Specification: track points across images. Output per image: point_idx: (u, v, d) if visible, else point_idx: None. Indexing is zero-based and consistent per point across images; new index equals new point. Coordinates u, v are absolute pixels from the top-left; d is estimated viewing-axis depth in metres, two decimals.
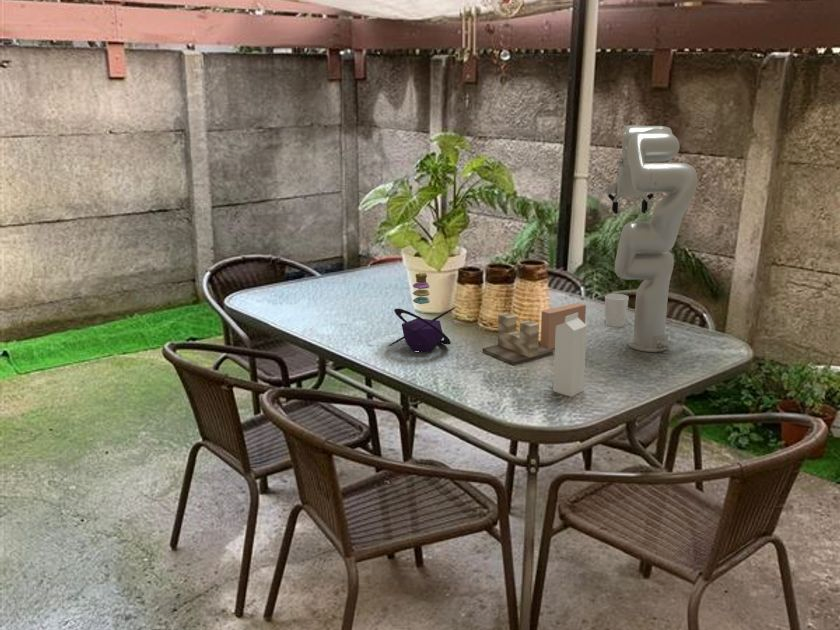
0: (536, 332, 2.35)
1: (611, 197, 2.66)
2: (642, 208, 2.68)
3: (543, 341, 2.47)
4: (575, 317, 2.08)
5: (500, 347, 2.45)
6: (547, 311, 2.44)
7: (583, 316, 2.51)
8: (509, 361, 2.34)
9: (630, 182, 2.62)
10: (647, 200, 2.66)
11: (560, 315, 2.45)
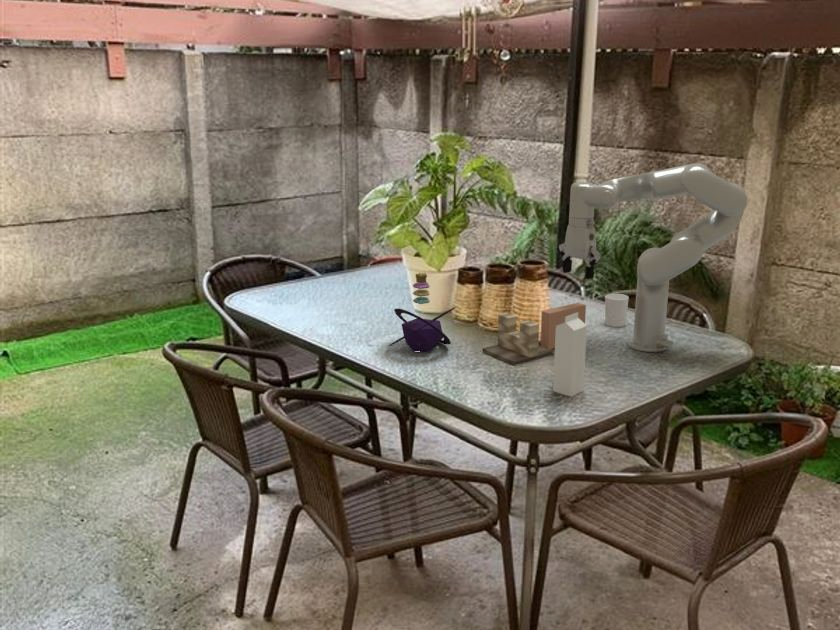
0: (536, 332, 2.35)
1: None
2: (567, 268, 2.51)
3: (543, 341, 2.47)
4: (575, 317, 2.08)
5: (500, 347, 2.45)
6: (547, 311, 2.44)
7: (583, 316, 2.51)
8: (509, 361, 2.34)
9: None
10: None
11: (560, 315, 2.45)
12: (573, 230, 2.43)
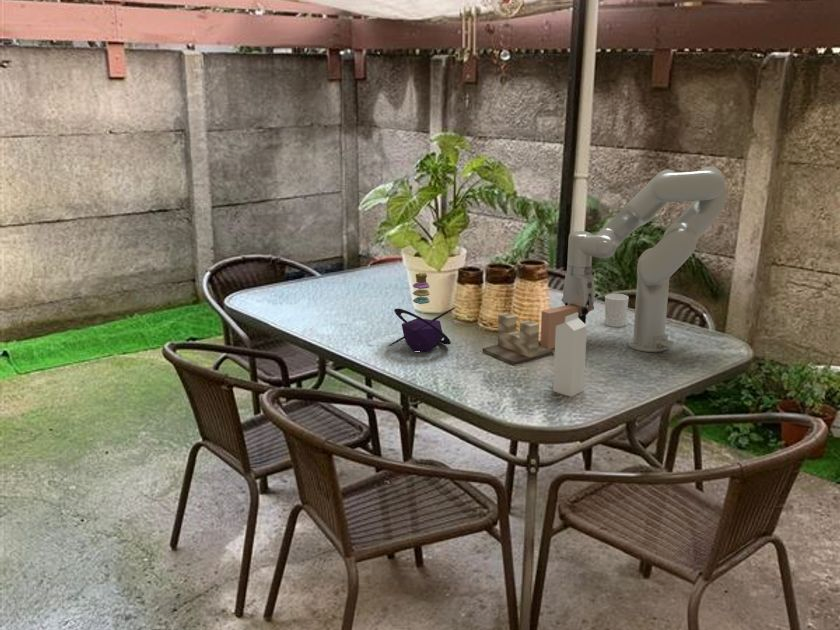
0: (536, 332, 2.35)
1: None
2: None
3: (543, 341, 2.47)
4: (575, 317, 2.08)
5: (500, 347, 2.45)
6: (547, 311, 2.44)
7: None
8: (509, 361, 2.34)
9: None
10: None
11: (560, 315, 2.45)
12: (571, 278, 2.48)
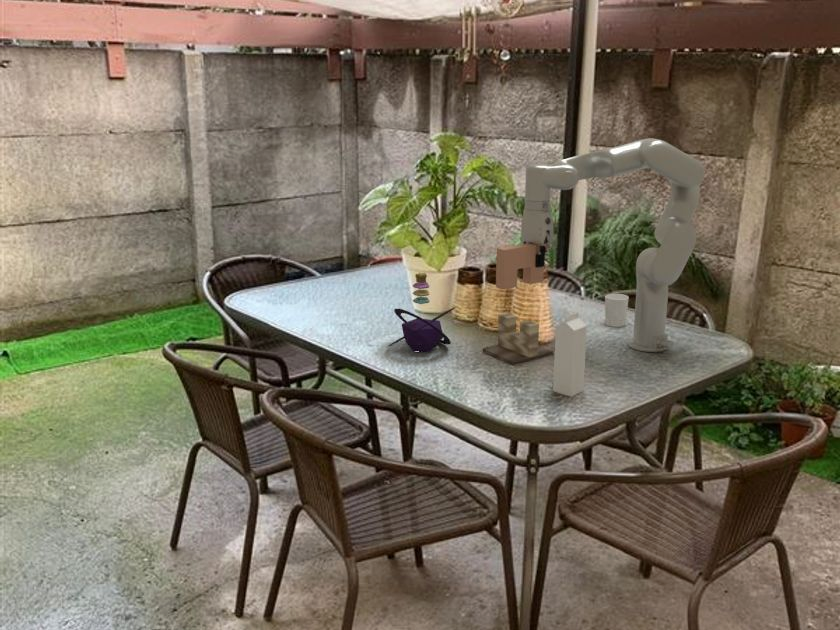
0: (536, 332, 2.35)
1: None
2: None
3: (498, 281, 2.33)
4: (575, 317, 2.08)
5: (500, 347, 2.45)
6: (502, 248, 2.30)
7: None
8: (509, 361, 2.34)
9: None
10: None
11: (516, 253, 2.31)
12: (529, 214, 2.33)
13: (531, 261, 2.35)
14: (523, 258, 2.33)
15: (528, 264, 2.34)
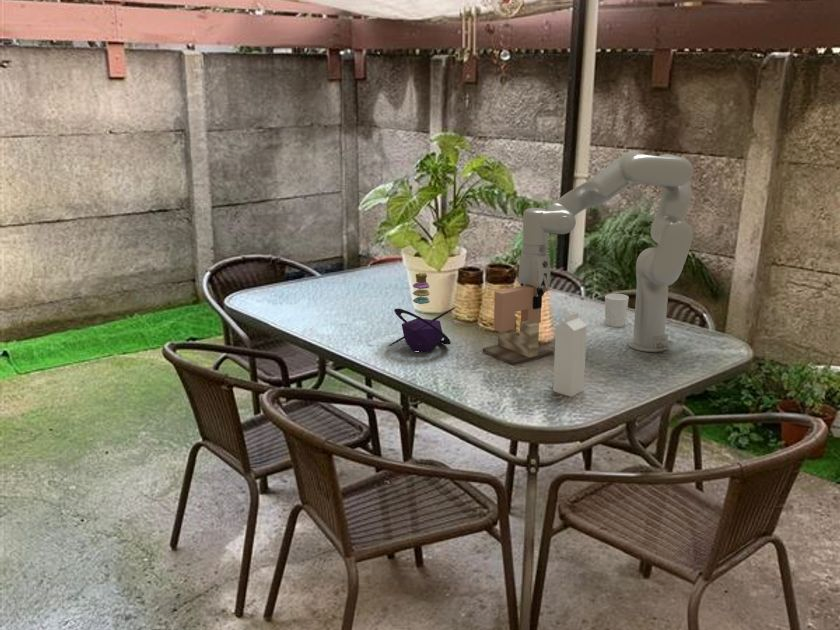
0: (536, 332, 2.35)
1: None
2: None
3: (496, 323, 2.36)
4: (575, 317, 2.08)
5: (500, 347, 2.45)
6: (500, 291, 2.33)
7: None
8: (509, 361, 2.34)
9: None
10: None
11: (514, 296, 2.34)
12: (526, 257, 2.37)
13: (528, 303, 2.38)
14: (521, 301, 2.36)
15: (526, 306, 2.38)
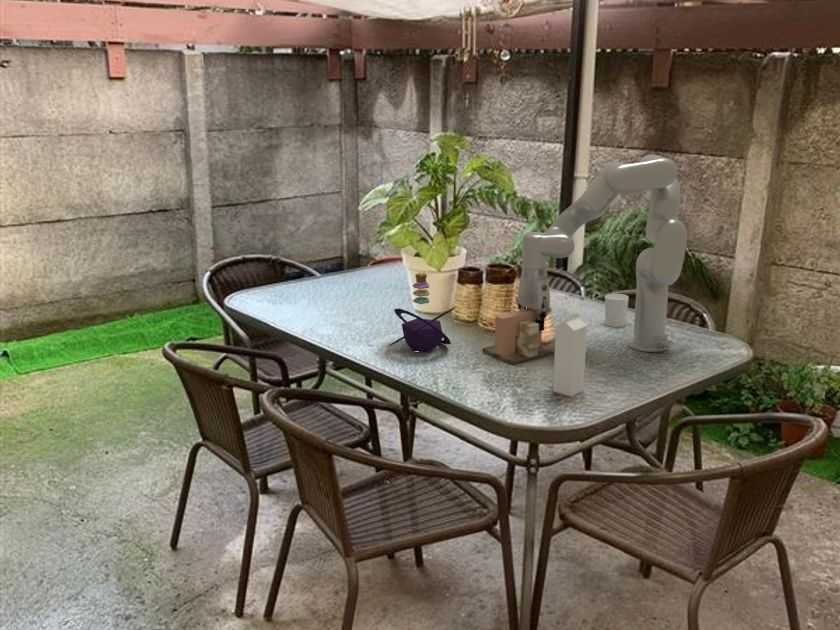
0: (536, 332, 2.35)
1: None
2: None
3: (497, 347, 2.38)
4: (575, 317, 2.08)
5: None
6: (501, 316, 2.36)
7: None
8: (509, 361, 2.34)
9: None
10: None
11: (515, 320, 2.37)
12: (526, 281, 2.39)
13: None
14: None
15: None
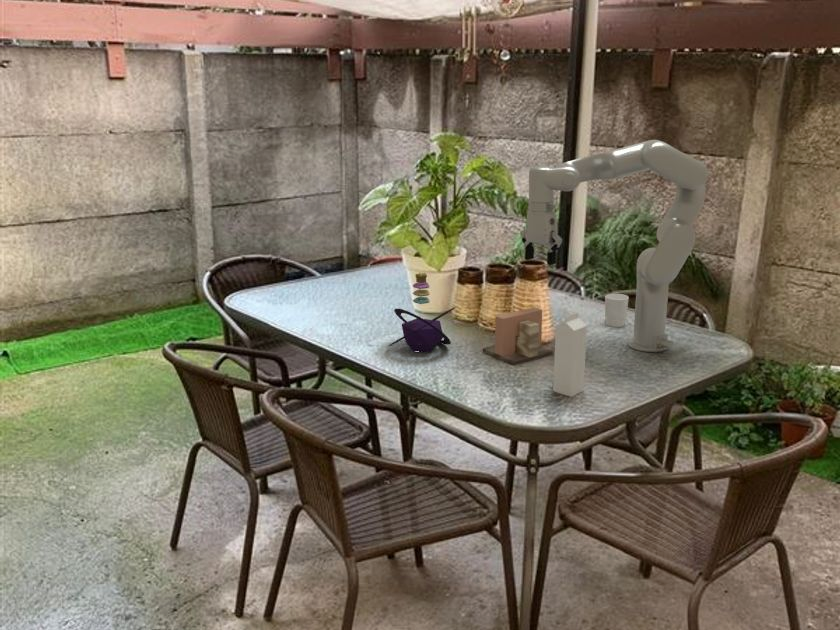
0: (536, 332, 2.35)
1: None
2: (530, 254, 2.46)
3: (497, 347, 2.38)
4: (575, 317, 2.08)
5: None
6: (501, 316, 2.36)
7: (539, 321, 2.43)
8: (509, 361, 2.34)
9: None
10: None
11: (515, 320, 2.37)
12: (533, 216, 2.38)
13: None
14: None
15: None
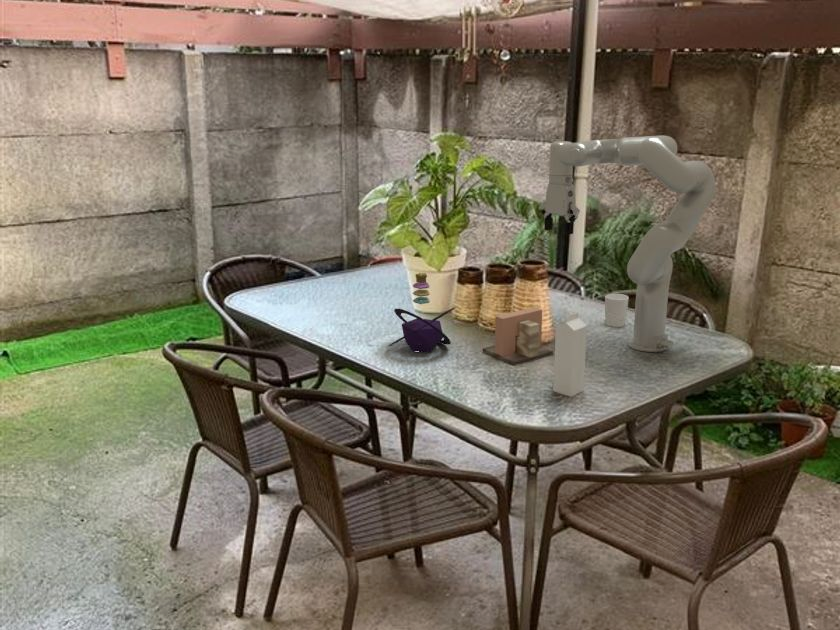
0: (536, 332, 2.35)
1: None
2: (549, 225, 2.61)
3: (497, 347, 2.38)
4: (575, 317, 2.08)
5: None
6: (501, 316, 2.36)
7: (539, 321, 2.43)
8: (509, 361, 2.34)
9: None
10: None
11: (515, 320, 2.37)
12: (553, 188, 2.53)
13: None
14: None
15: None
